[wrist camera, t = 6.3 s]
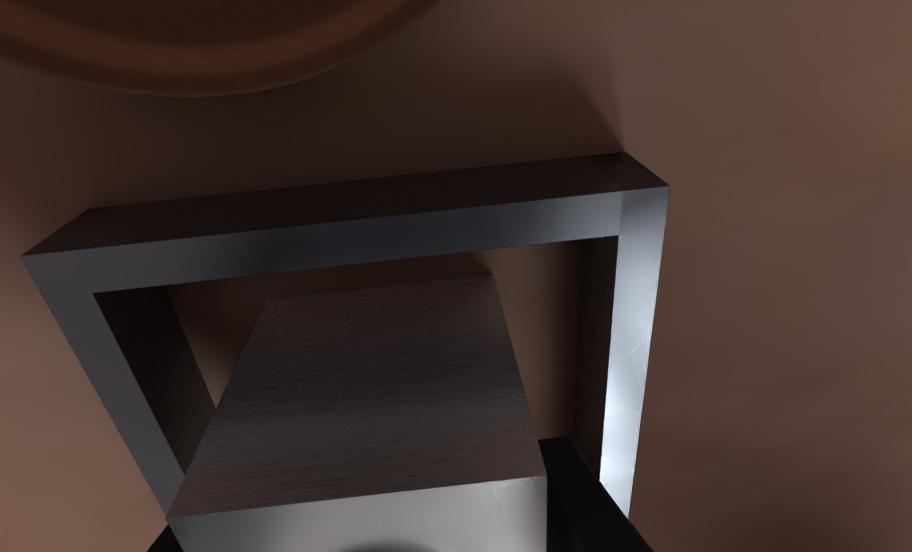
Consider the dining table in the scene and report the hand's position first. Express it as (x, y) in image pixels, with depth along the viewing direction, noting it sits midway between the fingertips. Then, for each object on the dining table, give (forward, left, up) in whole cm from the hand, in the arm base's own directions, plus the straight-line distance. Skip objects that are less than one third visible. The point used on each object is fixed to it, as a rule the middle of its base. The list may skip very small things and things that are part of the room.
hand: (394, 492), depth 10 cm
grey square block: (0, 0, -3) cm, 3 cm away
